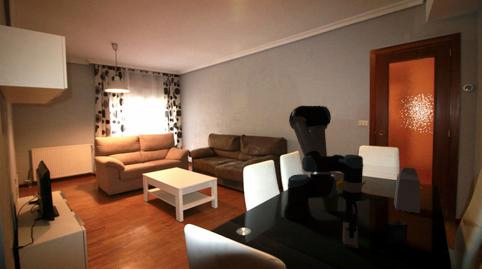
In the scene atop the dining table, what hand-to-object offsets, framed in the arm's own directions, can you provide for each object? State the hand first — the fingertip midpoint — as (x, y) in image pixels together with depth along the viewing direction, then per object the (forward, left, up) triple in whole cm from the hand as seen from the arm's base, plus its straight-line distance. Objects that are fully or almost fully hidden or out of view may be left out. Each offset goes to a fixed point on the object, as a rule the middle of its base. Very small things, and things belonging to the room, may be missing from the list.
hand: (349, 240), depth 105 cm
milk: (-54, +41, -2) cm, 68 cm away
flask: (-8, +21, -2) cm, 23 cm away
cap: (0, 0, 0) cm, 0 cm away
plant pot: (-37, -4, -2) cm, 38 cm away
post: (0, 0, -2) cm, 2 cm away
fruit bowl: (-76, +8, -2) cm, 77 cm away
